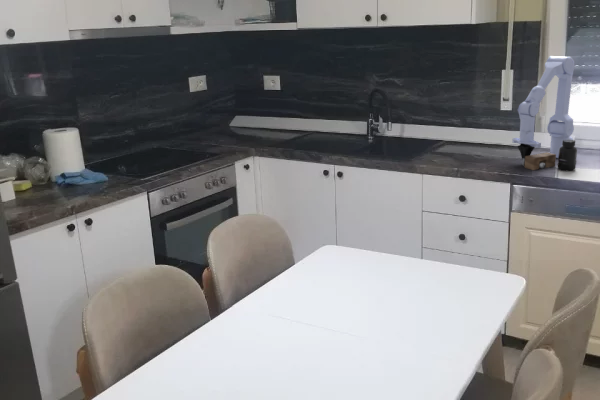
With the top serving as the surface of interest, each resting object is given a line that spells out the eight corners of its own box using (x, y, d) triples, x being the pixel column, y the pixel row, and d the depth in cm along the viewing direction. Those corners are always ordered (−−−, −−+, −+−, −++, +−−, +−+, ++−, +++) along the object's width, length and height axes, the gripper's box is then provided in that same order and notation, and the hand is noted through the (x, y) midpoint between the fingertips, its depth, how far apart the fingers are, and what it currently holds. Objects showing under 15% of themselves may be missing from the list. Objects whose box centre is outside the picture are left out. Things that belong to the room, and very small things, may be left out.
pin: (522, 165, 265) (522, 158, 264) (532, 163, 268) (532, 156, 267) (538, 169, 258) (538, 162, 257) (548, 167, 260) (548, 160, 259)
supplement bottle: (557, 170, 254) (559, 142, 251) (557, 167, 260) (559, 138, 257) (575, 171, 252) (578, 142, 248) (575, 167, 258) (577, 139, 254)
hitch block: (546, 163, 266) (546, 152, 265) (555, 166, 262) (555, 154, 260) (524, 167, 261) (525, 156, 260) (533, 170, 257) (534, 158, 256)
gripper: (507, 129, 268) (506, 159, 272) (532, 134, 255) (530, 166, 259) (520, 127, 271) (518, 157, 275) (545, 131, 258) (543, 163, 262)
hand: (525, 161), depth 267 cm, fingers closed
